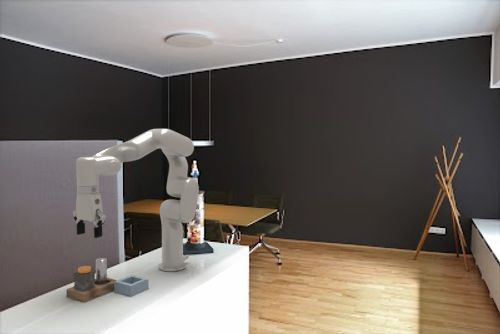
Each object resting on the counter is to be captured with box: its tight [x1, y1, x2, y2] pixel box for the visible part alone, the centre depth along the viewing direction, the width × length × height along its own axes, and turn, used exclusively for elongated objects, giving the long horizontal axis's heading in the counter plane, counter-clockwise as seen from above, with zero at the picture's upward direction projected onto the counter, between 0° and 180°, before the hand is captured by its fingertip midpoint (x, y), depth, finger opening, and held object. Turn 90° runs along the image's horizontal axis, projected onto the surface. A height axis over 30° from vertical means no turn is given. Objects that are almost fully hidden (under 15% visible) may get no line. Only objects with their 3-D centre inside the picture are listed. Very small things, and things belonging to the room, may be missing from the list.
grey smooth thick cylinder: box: [95, 257, 108, 285], centre depth 149 cm, size 4×4×12 cm
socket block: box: [65, 270, 118, 303], centre depth 146 cm, size 16×10×9 cm, turn 150°
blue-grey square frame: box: [113, 274, 149, 297], centre depth 149 cm, size 9×9×4 cm
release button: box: [77, 265, 92, 274], centre depth 142 cm, size 4×4×8 cm
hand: (89, 235), depth 143 cm, fingers open, 9 cm apart
